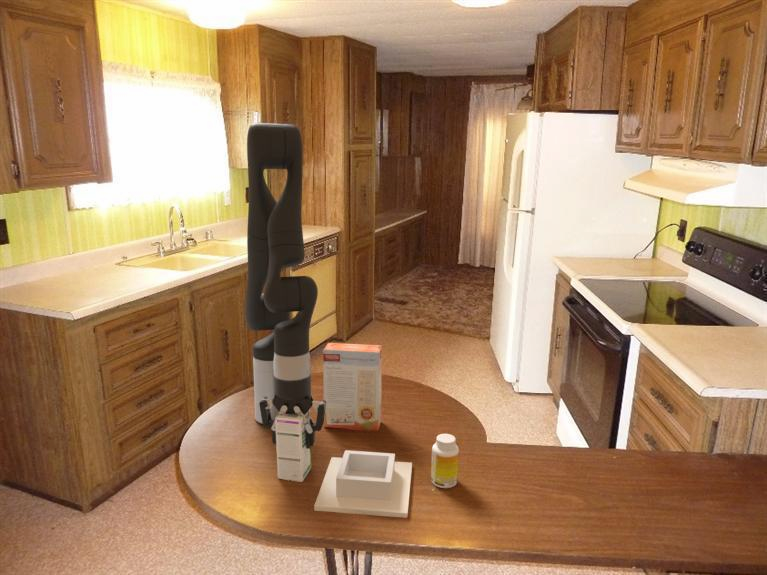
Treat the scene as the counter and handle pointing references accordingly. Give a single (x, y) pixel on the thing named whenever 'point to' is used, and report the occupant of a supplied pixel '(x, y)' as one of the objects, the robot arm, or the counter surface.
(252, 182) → the robot arm
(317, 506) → the sleeve holder
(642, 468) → the counter surface
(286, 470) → the syrup box
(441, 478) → the supplement bottle
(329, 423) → the cracker box
